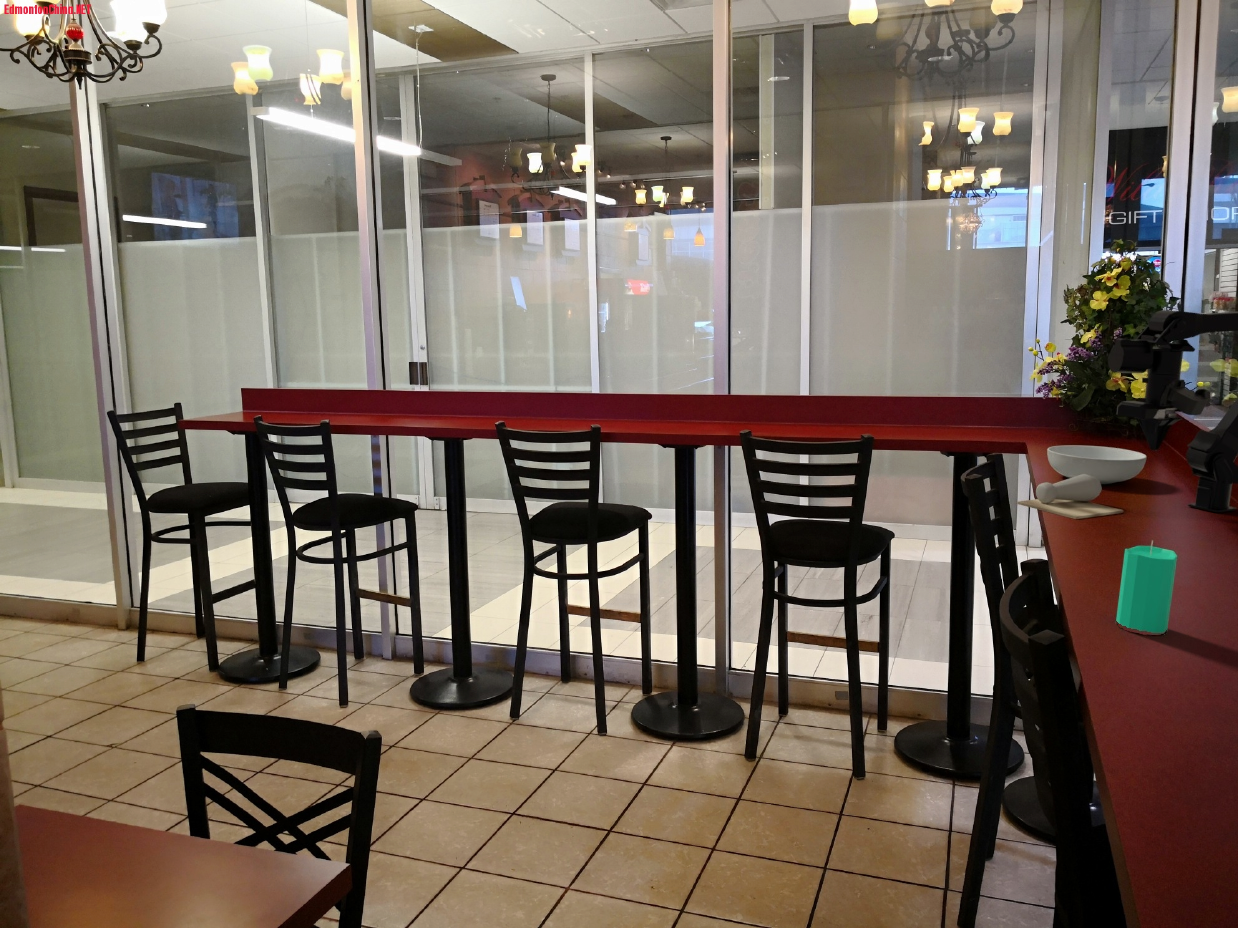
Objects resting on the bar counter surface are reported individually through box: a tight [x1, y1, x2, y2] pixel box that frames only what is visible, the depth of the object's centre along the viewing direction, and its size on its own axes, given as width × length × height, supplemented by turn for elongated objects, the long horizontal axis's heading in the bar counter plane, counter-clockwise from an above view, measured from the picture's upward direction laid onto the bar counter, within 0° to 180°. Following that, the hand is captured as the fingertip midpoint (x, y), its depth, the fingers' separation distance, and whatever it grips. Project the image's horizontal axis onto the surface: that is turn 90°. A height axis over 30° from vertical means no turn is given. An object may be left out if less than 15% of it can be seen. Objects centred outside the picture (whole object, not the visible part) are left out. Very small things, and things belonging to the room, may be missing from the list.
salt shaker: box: [1035, 474, 1102, 504], centre depth 199 cm, size 6×6×13 cm
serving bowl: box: [1046, 445, 1147, 485], centre depth 226 cm, size 21×21×7 cm
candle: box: [1115, 539, 1178, 633], centre depth 127 cm, size 6×6×12 cm
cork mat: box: [1016, 498, 1124, 520], centre depth 197 cm, size 14×14×1 cm
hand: (1154, 450), depth 196 cm, fingers closed
